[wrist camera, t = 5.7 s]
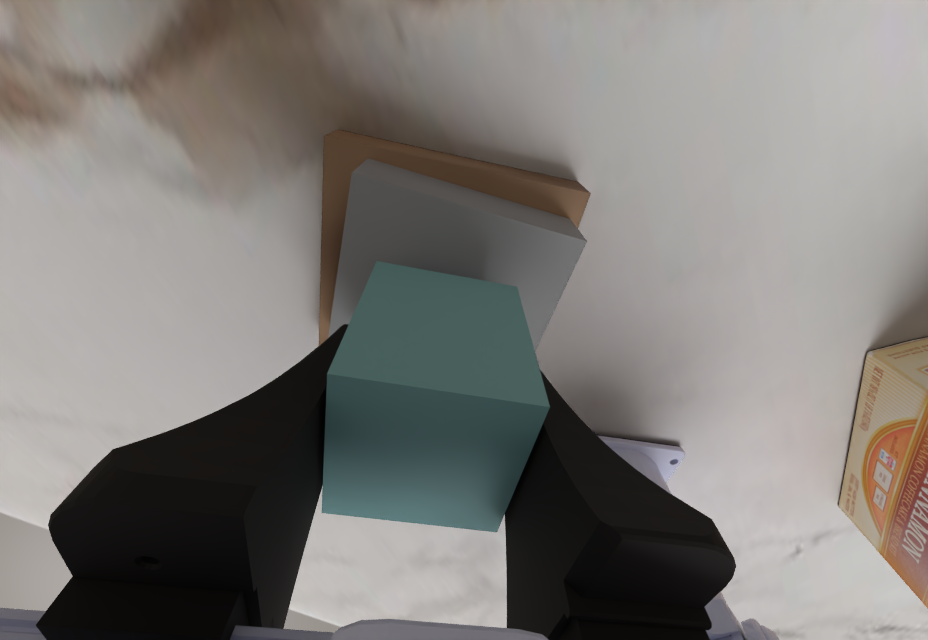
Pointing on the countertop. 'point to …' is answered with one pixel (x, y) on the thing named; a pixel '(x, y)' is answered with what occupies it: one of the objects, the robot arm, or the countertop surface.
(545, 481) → the robot arm
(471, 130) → the countertop surface
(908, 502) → the coffeecake box
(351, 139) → the walnut slab
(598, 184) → the countertop surface
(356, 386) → the teal block
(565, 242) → the gray square slab
